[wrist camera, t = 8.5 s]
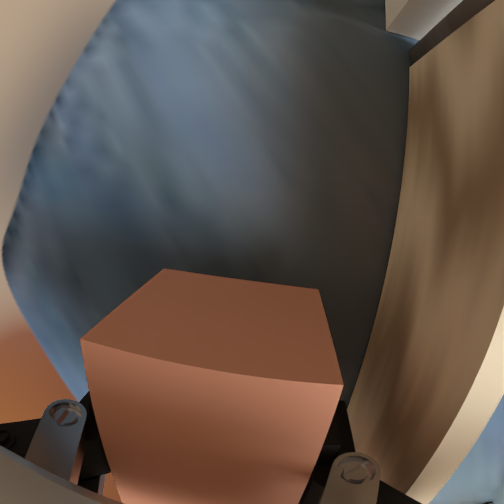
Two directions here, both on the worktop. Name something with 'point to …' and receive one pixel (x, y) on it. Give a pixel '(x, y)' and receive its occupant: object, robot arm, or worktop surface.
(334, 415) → the robot arm
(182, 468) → the salmon orange block
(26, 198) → the worktop surface
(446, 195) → the gate door
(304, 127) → the worktop surface
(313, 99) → the worktop surface
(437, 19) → the wall frame
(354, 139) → the worktop surface
